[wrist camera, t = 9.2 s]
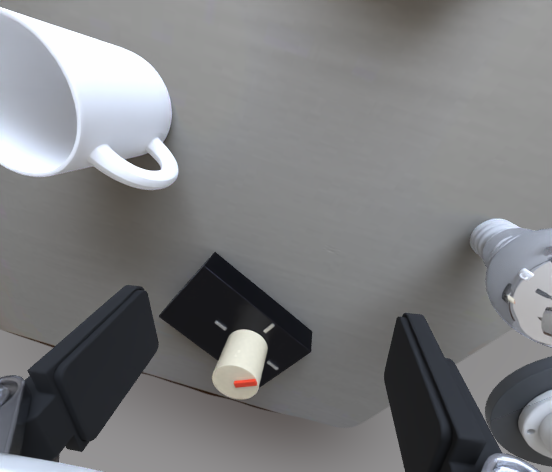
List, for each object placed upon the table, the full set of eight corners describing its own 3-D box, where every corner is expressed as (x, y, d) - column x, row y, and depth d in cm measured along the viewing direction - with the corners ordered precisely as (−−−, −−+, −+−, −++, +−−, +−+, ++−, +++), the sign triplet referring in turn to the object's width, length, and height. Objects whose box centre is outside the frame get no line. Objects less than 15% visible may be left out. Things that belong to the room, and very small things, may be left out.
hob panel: (312, 331, 31) (311, 353, 28) (262, 368, 34) (256, 391, 32) (215, 251, 29) (203, 266, 26) (172, 299, 32) (157, 317, 29)
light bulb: (550, 232, 23) (756, 339, 12) (471, 280, 26) (580, 403, 15) (499, 174, 22) (675, 233, 11) (423, 231, 24) (501, 324, 14)
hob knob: (236, 363, 30) (221, 404, 26) (220, 332, 29) (202, 370, 25) (273, 358, 29) (264, 400, 25) (259, 326, 28) (247, 365, 23)
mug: (226, 141, 24) (164, 158, 15) (171, 201, 27) (92, 246, 18) (116, 23, 22) (-39, -45, 12) (71, 104, 25) (-80, 98, 16)
